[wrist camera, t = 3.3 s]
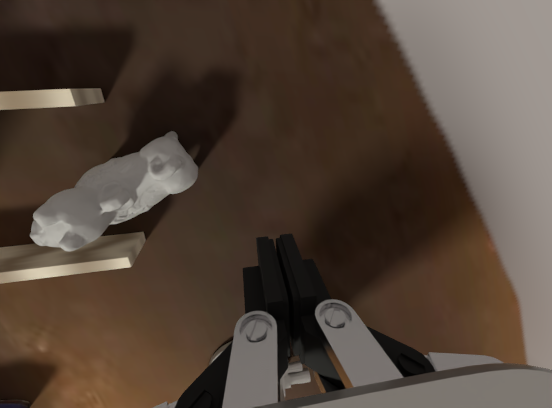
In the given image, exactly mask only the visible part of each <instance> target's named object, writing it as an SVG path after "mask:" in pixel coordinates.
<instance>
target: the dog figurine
mask: <svg viewBox="0 0 552 408" xmlns="http://www.w3.org/2000/svg"><path fill="white" fill-rule="evenodd" d="M197 176H198V167H197V165H195V163H194V161H193V159H192V158H191V156H190V155H189V154H187V152H186V151H185V150H184V148H183V147H182V145H181V144H180V143H179V141H178V135H177V134H176V132H174V131H170V132H168V133H167V134H165V136H164V137H160V138H156V139H155V140H153V141H151V142H150V143H148V144H147V145H146V146H144V147H143V148H142V149H141V150H140V152H136V153H132V154H130V155H126V156H124V157H117V158H112V159H110V160H109V161H108V162H106V163H105V164H101V165H98V166H96V167H94V168H92V169H90V170H89V171H87V172H86V173H85V174H84V175H83V176H82V177H81V179H80V180H79V181H78V182H77V185H75V188H73V189H68V190H64V191H61V192H59V193H57V194H55V195H53V196H52V197H51V198H49V199H48V200H47V202H46V203H44V204H43V205H42V206H40V207H39V208H38V209H37V210H36V211H35V212H34V214H33V218H34V221H33V223H32V227H31V233H30V237H31V238H32V239H33V241H34V242H35V243H36V244H38V245H39V246H49V247H60V248H62V249H63V250H64V251H68V252H70V251H74V250H77V249H79V248H81V247H83V246H85V245H86V244H88V243H90V242H93V241H94V240H96V239H97V238H99V237H100V236H101V235H102V234H103V232H104V231H105V230H106V228H107V227H108V226H109V225H111V224H118V223H121V222H123V221H126V220H129V219H131V218H133V217H135V216H137V215H138V214H141V213H143V212H146V211H148V210H149V209H150V208H151V207H153V205H155V204H157V203H158V202H160V201H161V200H162V199H164V198H165V197H166V196H167V195H169V194H170V193H171V194H176V193H180V192H182V191H184V190H186V189H188V188H189V187H190V186H191V185H193V184H194V182H195V181H196V179H197Z"/></svg>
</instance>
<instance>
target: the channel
mask: <svg viewBox="0 0 552 408" xmlns="http://www.w3.org/2000/svg"><path fill="white" fill-rule="evenodd" d="M104 102H105V101H104V98H103V95H102V91H101V88H91V89H53V90H31V91H9V92H0V110H9V109H29V108H48V107H67V106H80V105H88V104H96V103H104ZM145 241H146V239H145V235H144V232H136V233H127V234H118V235H109V236H100V237H99V238H97V239H96V240H94V241H93V242H90V243H88V244H86V245H85V246H83V247H81V248H79V249H77V250H74V251H70V252H68V251H64V250H63V249H62V248H60V247H49V246H39V245H38V244H27V245H18V246H9V247H0V283H8V282H16V281H24V280H32V279H40V278H48V277H56V276H64V275H72V274H80V273H88V272H96V271H104V270H112V269H120V268H128V267H131V266H132V265H133V263H134V261H135V259H136V258H137V256H138V254H139V252H140V250H141V249H142V247H143V245H144V243H145Z"/></svg>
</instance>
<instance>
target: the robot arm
mask: <svg viewBox="0 0 552 408" xmlns="http://www.w3.org/2000/svg"><path fill="white" fill-rule="evenodd" d="M256 242H257V253H258V265H259V266H254V267H246V268H243V281H244V297H245V315H244V316H242V317H241V318H240V319H239V321H238V322H237V324H236V327H235V331H234V338H233V341H231V342H229V343H227V344H225V345H224V346H222V347H221V348H219V349H218V350H217V351H216V352H215V354H214V355H213V356H212V358H211V360H210V364H209V366H208V367H207V368H206V369H205V370H204V372H203V373H202V374H201V375H200V376H199V377H198V378H197V379H196V380H195V381H194V382H193V383H192V384H191V385H190V386H189V387H188V388H187V389H186V390H185V392H184V393H183V394H182V395H181V397H180V398H179V399H178V401H175V402H173V403H171V404H169V405H168V403H167V402H164V403H162V404H160V405H157V406H155V407H153V408H552V370H550V369H546V368H541V367H536V366H530V365H523V364H510V363H503V362H502V361H500V360H497V359H495V358H493V357H489V356H484V355H467V354H449V353H431V352H428V356H426V355H423V354H421V353H420V352H418V351H417V350H415V349H413V348H411V347H409V346H407V345H405V344H403V343H400V342H398V341H396V340H394V339H392V338H390V337H388V336H386V335H384V334H382V333H380V332H378V331H376V330H373V329H371V328H369V327H367V326H365V325H364V323H363V322H362V321H361V319H360V318H359V317H358V315H357V314H356V312H355V311H354V310H353V309H352V308H351V307H350V306H349V305H348V304H346V303H345V302H342V301H339V300H333V299H331V297H330V295H329V293H328V291H327V289H326V287H325V284H324V282H323V280H322V278H321V276H320V274H319V271H318V269H317V267H316V265H315V263H314V261H313V259H307V260H302V258H301V255H300V253H299V250H298V248H297V245H296V243H295V240H294V238H293V235H292V234H284V235H280V238H276V249H275V246H274V242H273V239H268V236H267V237H258V238H256ZM276 252H277V253H276ZM290 341H291V345H292V350H293V354H294V356H296V355H299V358H300V361H296V362H293V363H288V357H290ZM304 363H305V365H306V366H308V367H309V368H311V369H312V370H313V373H314V376H315V379H316V381H317V384H318V386H319V388H320V391H321V393H322V394H317V395H312V396H307V397H302V398H297V399H292V400H287V401H285V389H286V388H291V385H292V384H298V383H299V384H301V383H306V382H310V374H309V370H308V368H302V364H304Z"/></svg>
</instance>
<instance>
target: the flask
mask: <svg viewBox="0 0 552 408" xmlns="http://www.w3.org/2000/svg"><path fill="white" fill-rule="evenodd" d="M30 407H31V405H30V402H28V401H24V400H0V408H30Z"/></svg>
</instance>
